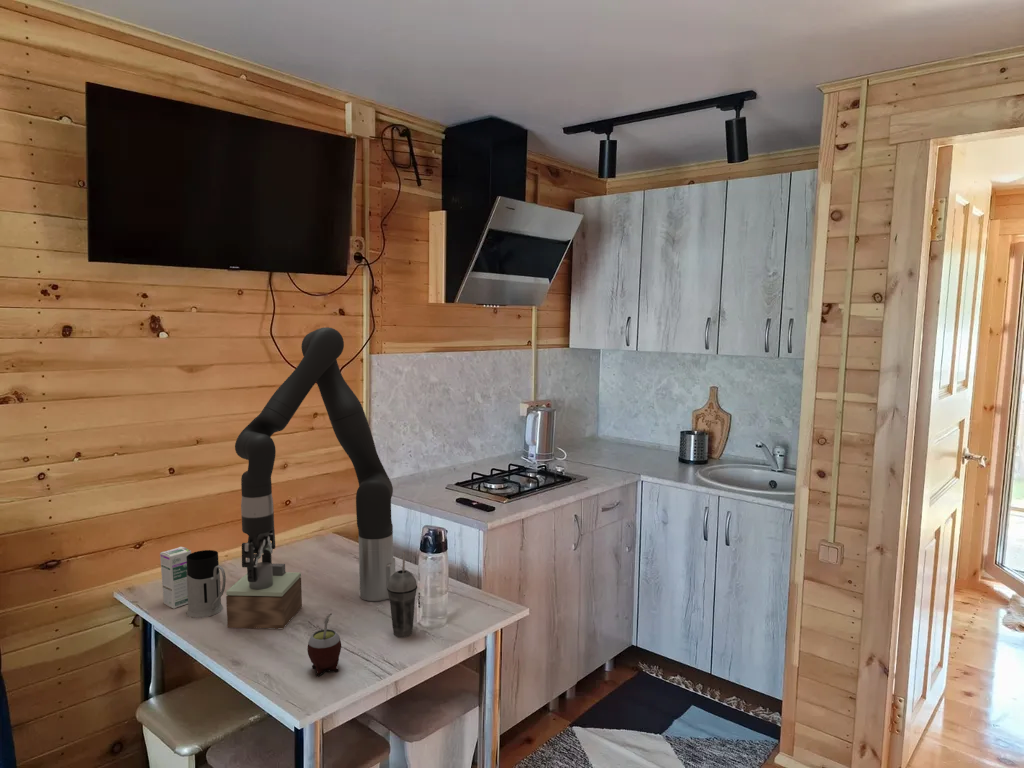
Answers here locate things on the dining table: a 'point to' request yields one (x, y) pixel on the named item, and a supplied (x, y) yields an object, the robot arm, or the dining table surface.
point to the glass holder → (204, 584)
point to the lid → (279, 587)
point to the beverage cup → (402, 601)
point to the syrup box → (174, 576)
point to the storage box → (264, 609)
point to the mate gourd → (324, 649)
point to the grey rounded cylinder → (263, 576)
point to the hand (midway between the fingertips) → (260, 574)
